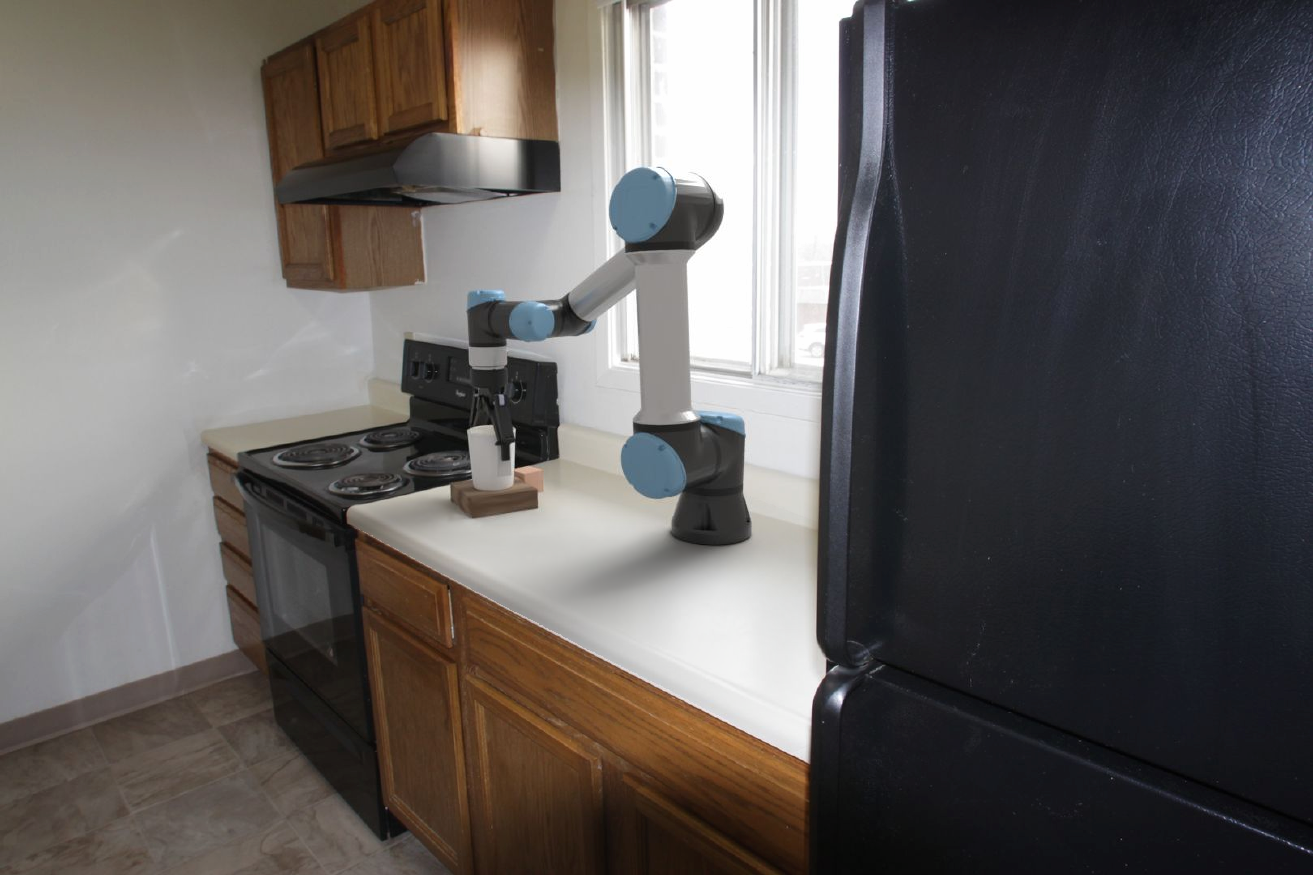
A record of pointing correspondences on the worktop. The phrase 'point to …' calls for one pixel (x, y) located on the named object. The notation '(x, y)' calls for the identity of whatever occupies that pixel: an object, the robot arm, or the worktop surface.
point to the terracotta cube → (531, 476)
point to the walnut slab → (493, 498)
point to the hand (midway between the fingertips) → (492, 468)
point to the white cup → (487, 459)
